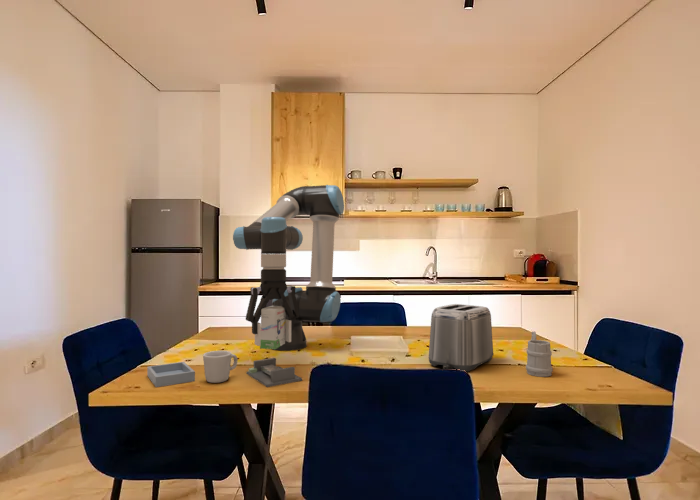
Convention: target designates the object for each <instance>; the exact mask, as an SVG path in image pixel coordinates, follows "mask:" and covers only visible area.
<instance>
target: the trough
mask: <svg viewBox="0 0 700 500" xmlns="http://www.w3.org/2000/svg"><path fill="white" fill-rule="evenodd" d="M146 368H147V374H146V375H147V377H148V379H149V380H150V382H151V383H152V384H153V386H154V387H155V388H160V387H166V386H172V385H173V386H174V385H179V384H185V383H193V382H195V381H196V371H195V370H194V369H193V368H192V367H191V366H189V365H188V364H187V363H186V362H185V361H178V362H171V363H165V364H158V365H150V366H147V367H146Z"/></svg>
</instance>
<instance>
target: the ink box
mask: <svg viewBox="0 0 700 500" xmlns="http://www.w3.org/2000/svg"><path fill="white" fill-rule="evenodd" d="M260 323H261V346H259V349H265V350H273V349H277V348H278V347H280V346H282V345H283V344H285V328H286V312H285V309H284V307H282V306H273V305H270V306H265V308H264V309H261V317H260Z"/></svg>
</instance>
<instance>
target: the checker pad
mask: <svg viewBox="0 0 700 500" xmlns="http://www.w3.org/2000/svg"><path fill="white" fill-rule="evenodd" d="M279 367H280V366H279ZM279 367H278V366H277V365H276V366H275V365H273V364H272V365H266V366H261V371H263V372H265V373H267V374H268V375H270V376H271V370H276V369H281V368H282V367H281V368H279Z"/></svg>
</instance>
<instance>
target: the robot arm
mask: <svg viewBox="0 0 700 500" xmlns="http://www.w3.org/2000/svg"><path fill="white" fill-rule="evenodd" d="M343 196H344V195H343V193H342V191H341V188H340V187H339V186H337V185H335V184H334V185H333V184H331V185H329V184H325V185H305V186H304V185H302V186H299V187H295V188H294V189H291V190H289V191H287V192H286V193H284V194H283V195H281V196H280V197H279V198H278V199H277V201H276V203H275V204H274V205H272V207H270V208H269V209H268V210H267V211H266V212H264V213H263V214H262V215H261V216H260V217H258V218H257V219H256V220H255V221H253V222H252V223H250V225H248V226H246V225H245V226H244V225H243V226H238V227H236V228H235V230H234V231H233V234H232V240H233V244H234V246H235V248H236V249H239V250H246V251H247V250H260V251H261V252H260V267H261V268H262V269H261V270H260V285H259V286H257V287H250V297H249V298H250V299H249V302H248V307H247V311H246V316H245V320H246V321H247V322H250V323H251V333H252V334H253V335H254V345H255V346H258V347H260V346H261V322H259V321H260V320H261V309H264V308H265V307H267V304H268V303H269V302H270V300H271V301H272V302H271V303H272V306H282V307H284V309H285V312H286V328H285V344H283V345H282V346H280V347H278V348H277V349H272V350H275V351H297V350H302V349H305V348H306V347H307V345H308V342H307V337H306V335H305V331H304V327H303V322H316V323H317V322H319V323H325V322H326V323H330V322H331V323H332V322H334V321H335V320H336V318H337V316H338V314H339V312H340V309H341V295H340V293H339V292H338V291H336V290H337V287H336V286H335V285H334V283H333V270H334V269H333V268H334V251H335V250H334V249H335V247H334V245H335V225H336V223H337V222H338V221H339V218H340V216H341V215H342V214H344V210H345V202H344V197H343ZM296 216H309V219H310V220H311V222H312V236H311V237H312V240H311V242H312V243H311V261H310V282H309V283H308V284H307V285H306V286H305V287H306V288H305V291H304V290H303V287H300V286H299V287H298V286H297V287H296V286H295V285H287V270H286V269H285V268H286V267H287V250H289V251H290V250H291V251H292V250H295V249H297V248H299V247H300V246H301V245H302V243H303V239H304V237H303V234H302V231H301V230H300V229H298V228H297V227H295V226H293V225H288V224H287V221H288V220H290V219H294V218H296ZM260 292H261V294H262V295H261V297H260V300H259V303H258V305H257V302H258V297H259V294H260ZM256 305H257V307H256Z"/></svg>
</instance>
